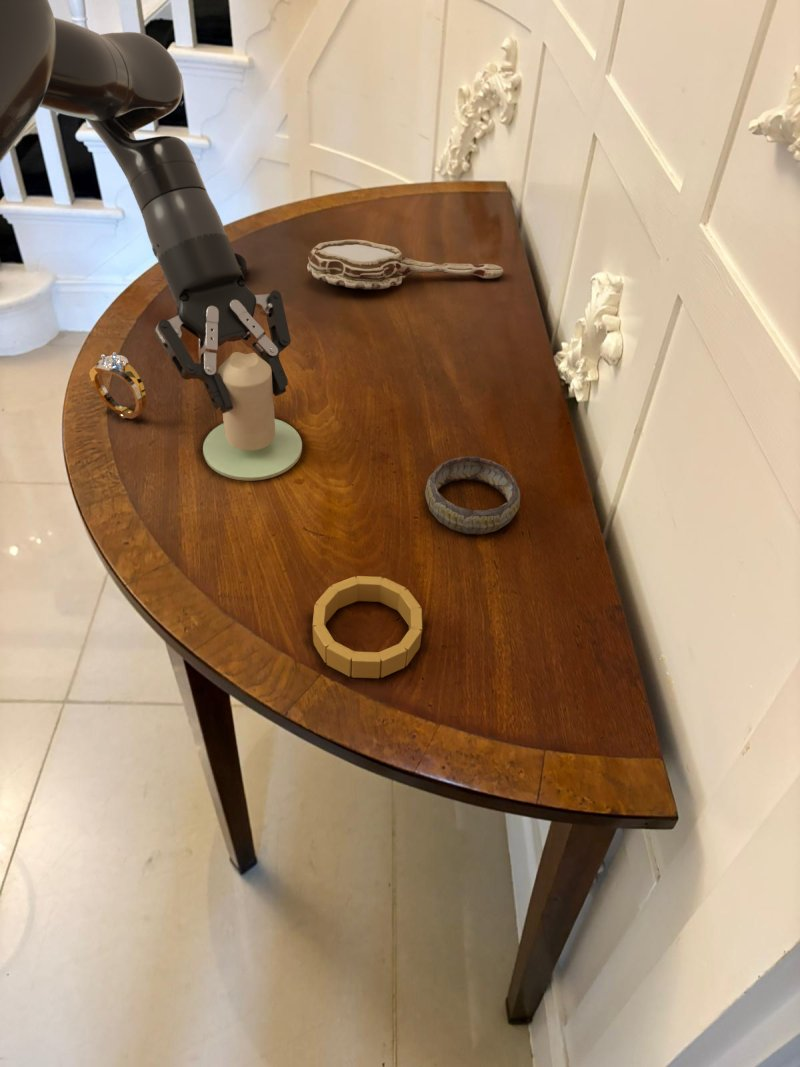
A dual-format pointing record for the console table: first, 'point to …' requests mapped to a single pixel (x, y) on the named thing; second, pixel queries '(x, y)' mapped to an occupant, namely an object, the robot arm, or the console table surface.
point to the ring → (119, 368)
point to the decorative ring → (467, 518)
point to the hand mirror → (378, 265)
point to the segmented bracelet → (367, 661)
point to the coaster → (253, 454)
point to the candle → (248, 401)
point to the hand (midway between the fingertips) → (254, 401)
